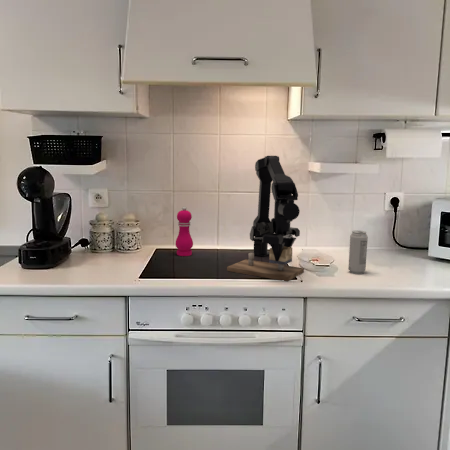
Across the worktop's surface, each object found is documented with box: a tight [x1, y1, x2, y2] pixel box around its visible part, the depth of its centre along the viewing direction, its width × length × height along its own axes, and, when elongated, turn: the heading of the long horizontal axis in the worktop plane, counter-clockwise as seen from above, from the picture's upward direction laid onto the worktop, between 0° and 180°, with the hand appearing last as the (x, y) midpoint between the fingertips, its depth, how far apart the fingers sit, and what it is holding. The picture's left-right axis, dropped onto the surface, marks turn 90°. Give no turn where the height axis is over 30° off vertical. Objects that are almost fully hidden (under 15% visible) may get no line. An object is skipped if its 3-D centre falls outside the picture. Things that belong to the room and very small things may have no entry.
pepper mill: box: [175, 206, 194, 257], centre depth 201 cm, size 7×7×20 cm
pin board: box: [226, 252, 305, 282], centre depth 177 cm, size 14×24×6 cm, turn 58°
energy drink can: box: [348, 230, 368, 275], centre depth 177 cm, size 6×6×15 cm
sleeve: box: [268, 246, 293, 265], centre depth 173 cm, size 6×6×5 cm
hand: (280, 259), depth 174 cm, fingers closed on sleeve, 6 cm apart
